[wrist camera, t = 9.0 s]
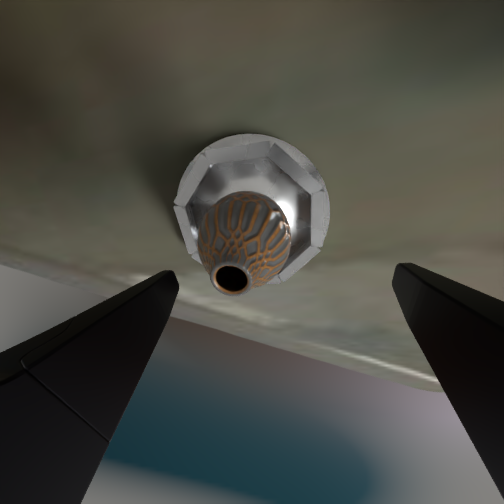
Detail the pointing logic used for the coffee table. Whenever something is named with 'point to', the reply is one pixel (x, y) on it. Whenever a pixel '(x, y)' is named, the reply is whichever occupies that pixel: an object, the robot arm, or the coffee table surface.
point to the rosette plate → (258, 180)
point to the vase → (243, 241)
